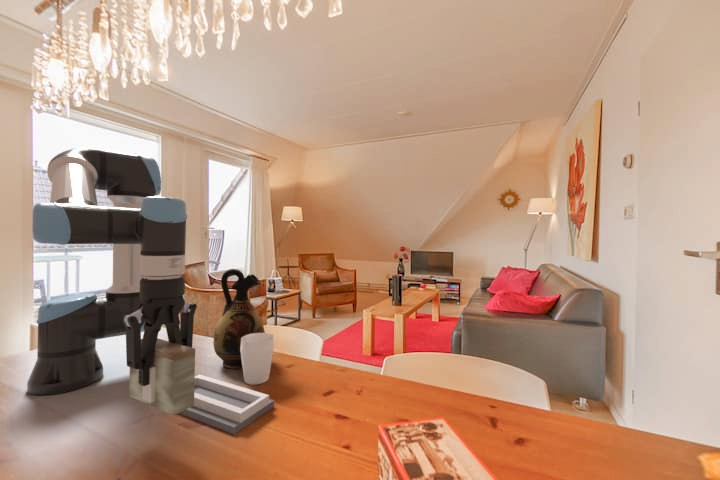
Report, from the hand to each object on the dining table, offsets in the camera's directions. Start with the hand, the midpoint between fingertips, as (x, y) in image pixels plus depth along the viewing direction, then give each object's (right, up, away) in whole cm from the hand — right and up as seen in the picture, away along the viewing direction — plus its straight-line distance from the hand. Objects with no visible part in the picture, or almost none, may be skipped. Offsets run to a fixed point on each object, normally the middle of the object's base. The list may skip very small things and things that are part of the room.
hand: (161, 394), depth 62 cm
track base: (+5, -9, +13) cm, 17 cm away
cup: (+10, -9, +27) cm, 30 cm away
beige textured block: (0, -1, 0) cm, 1 cm away
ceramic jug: (0, -9, +39) cm, 40 cm away
